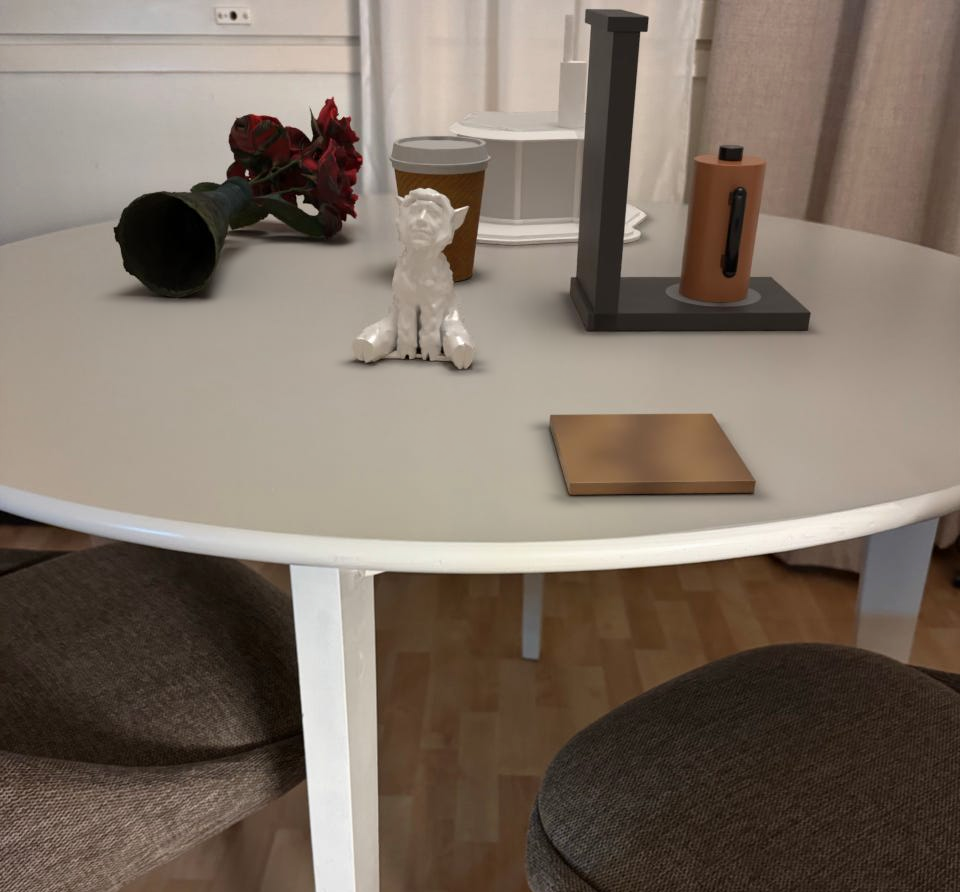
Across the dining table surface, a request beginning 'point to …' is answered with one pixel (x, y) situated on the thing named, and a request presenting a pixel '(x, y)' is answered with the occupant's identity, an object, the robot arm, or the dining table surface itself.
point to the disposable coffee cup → (446, 185)
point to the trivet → (647, 454)
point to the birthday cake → (537, 166)
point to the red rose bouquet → (243, 199)
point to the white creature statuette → (422, 289)
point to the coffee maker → (604, 210)
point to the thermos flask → (721, 225)
